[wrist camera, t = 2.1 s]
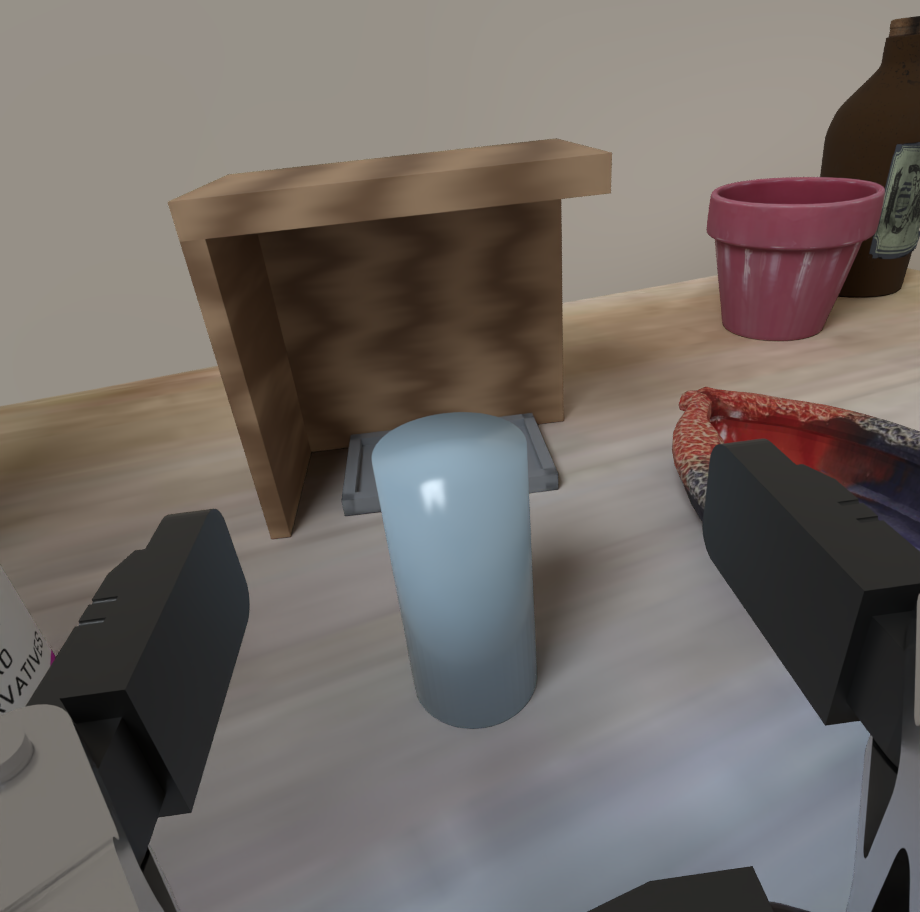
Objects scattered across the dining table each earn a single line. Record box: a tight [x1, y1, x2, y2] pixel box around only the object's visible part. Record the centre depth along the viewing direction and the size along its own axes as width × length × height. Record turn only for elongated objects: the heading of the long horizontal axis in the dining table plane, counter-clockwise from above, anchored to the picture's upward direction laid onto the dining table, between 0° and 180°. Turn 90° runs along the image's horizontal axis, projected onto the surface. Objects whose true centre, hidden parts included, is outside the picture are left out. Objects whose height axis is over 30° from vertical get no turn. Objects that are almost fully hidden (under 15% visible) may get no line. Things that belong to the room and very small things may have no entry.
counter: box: [168, 139, 612, 539], centre depth 40 cm, size 21×12×20 cm, turn 95°
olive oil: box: [820, 16, 920, 297], centre depth 64 cm, size 11×11×25 cm
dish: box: [672, 387, 920, 551], centre depth 31 cm, size 16×31×5 cm, turn 15°
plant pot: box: [707, 177, 885, 341], centre depth 59 cm, size 14×14×13 cm
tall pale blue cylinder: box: [372, 412, 537, 729], centre depth 26 cm, size 6×6×12 cm
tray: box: [342, 413, 558, 516], centre depth 44 cm, size 14×9×1 cm, turn 95°
